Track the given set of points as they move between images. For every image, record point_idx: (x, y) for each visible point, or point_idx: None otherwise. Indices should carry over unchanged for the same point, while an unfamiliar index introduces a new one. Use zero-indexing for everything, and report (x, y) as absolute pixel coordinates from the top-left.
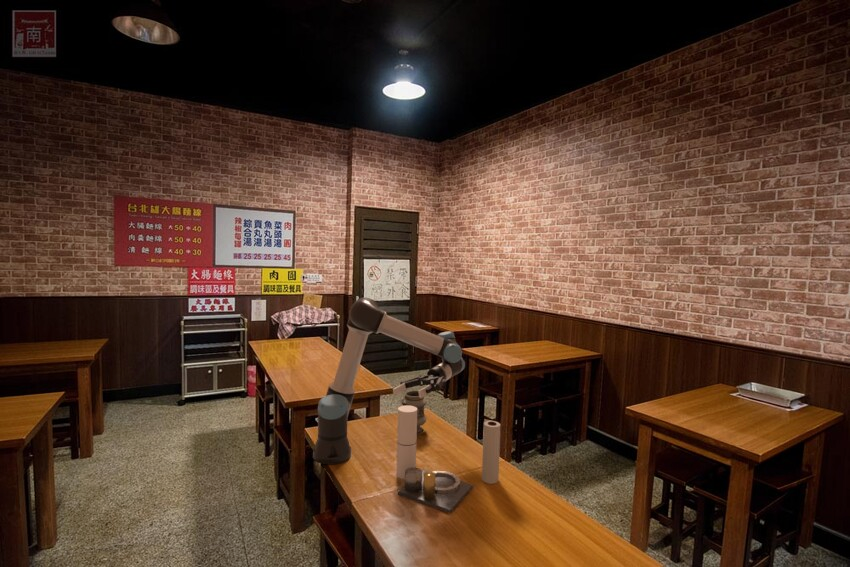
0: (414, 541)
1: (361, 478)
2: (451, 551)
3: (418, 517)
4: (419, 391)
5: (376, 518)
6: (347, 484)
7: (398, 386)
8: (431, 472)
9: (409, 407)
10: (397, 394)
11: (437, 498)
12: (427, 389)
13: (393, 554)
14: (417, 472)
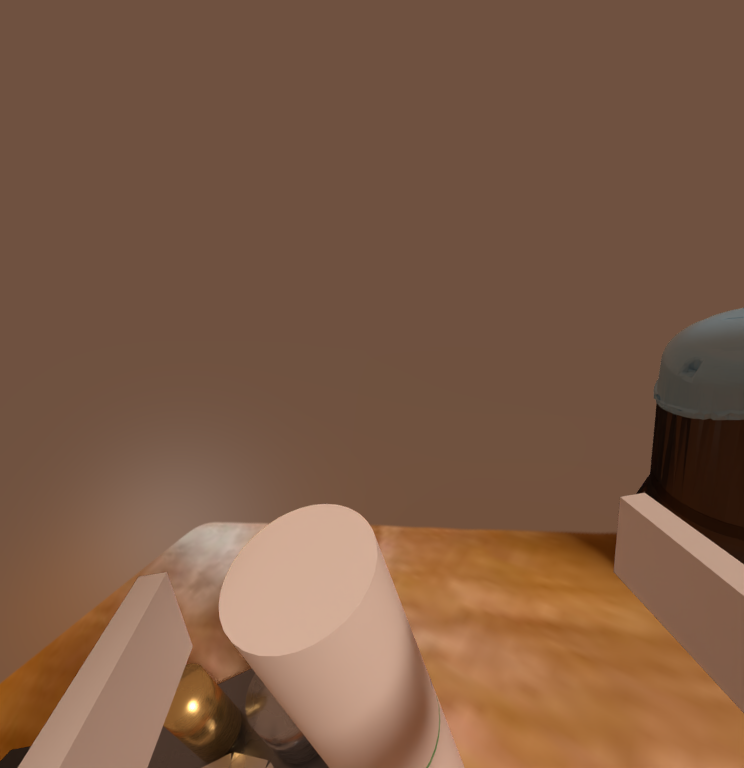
0: (181, 576)
1: (481, 584)
2: (94, 625)
3: (209, 632)
4: (144, 579)
5: None
6: (466, 536)
7: (738, 576)
8: (178, 712)
9: (307, 595)
10: (646, 604)
11: (179, 744)
12: (12, 763)
13: (202, 529)
14: (264, 699)
